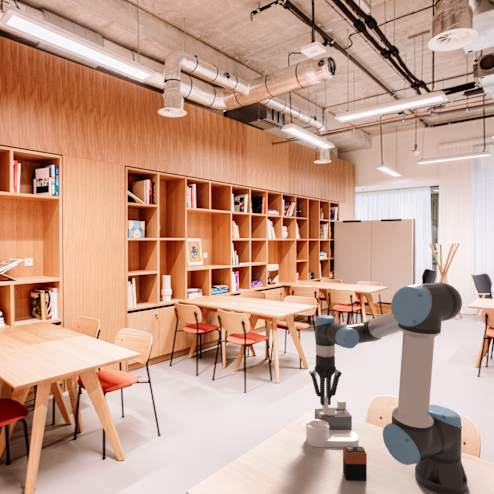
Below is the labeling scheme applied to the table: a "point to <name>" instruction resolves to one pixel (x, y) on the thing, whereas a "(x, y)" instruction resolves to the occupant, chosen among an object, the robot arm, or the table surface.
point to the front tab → (331, 410)
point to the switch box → (336, 419)
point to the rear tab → (341, 404)
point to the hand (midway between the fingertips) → (325, 412)
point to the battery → (354, 463)
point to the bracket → (329, 435)
